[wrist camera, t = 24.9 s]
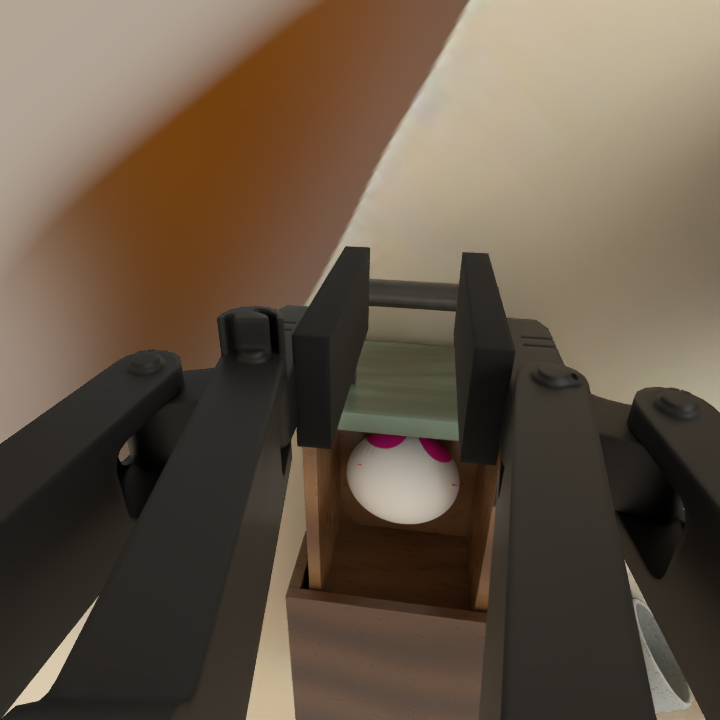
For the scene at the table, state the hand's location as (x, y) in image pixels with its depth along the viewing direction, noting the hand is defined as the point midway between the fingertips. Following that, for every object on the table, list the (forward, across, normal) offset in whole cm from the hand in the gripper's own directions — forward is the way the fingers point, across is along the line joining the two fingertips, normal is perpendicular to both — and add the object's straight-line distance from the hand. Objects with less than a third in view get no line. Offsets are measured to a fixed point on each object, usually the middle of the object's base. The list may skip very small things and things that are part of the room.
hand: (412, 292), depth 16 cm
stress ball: (+15, 0, -17) cm, 22 cm away
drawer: (+16, 0, -14) cm, 21 cm away
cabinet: (+17, 0, -32) cm, 36 cm away
